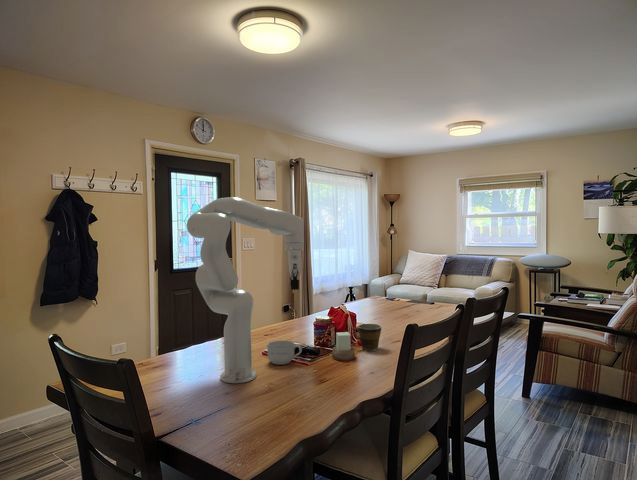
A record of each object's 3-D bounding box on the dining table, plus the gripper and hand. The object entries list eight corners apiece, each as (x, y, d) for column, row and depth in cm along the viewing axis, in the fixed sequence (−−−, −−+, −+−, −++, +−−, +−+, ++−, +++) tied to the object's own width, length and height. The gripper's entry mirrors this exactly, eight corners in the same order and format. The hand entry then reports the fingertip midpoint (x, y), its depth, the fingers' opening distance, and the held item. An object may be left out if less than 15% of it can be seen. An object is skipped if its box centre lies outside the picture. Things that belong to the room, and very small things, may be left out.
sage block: (350, 349, 169) (350, 335, 169) (338, 350, 168) (338, 335, 168) (348, 346, 174) (348, 332, 174) (336, 347, 173) (336, 332, 173)
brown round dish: (356, 360, 167) (356, 351, 167) (334, 361, 166) (334, 352, 166) (352, 353, 176) (352, 344, 176) (330, 354, 175) (330, 345, 175)
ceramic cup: (381, 346, 186) (380, 323, 186) (382, 353, 176) (382, 329, 176) (351, 345, 187) (351, 323, 187) (351, 352, 178) (350, 329, 177)
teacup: (261, 364, 164) (261, 344, 163) (277, 356, 173) (277, 337, 173) (292, 370, 157) (292, 348, 157) (306, 361, 167) (306, 341, 166)
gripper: (304, 247, 167) (304, 290, 167) (302, 246, 184) (302, 285, 185) (285, 247, 166) (285, 291, 167) (285, 246, 184) (285, 285, 184)
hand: (294, 287), depth 176 cm, fingers open, 9 cm apart
